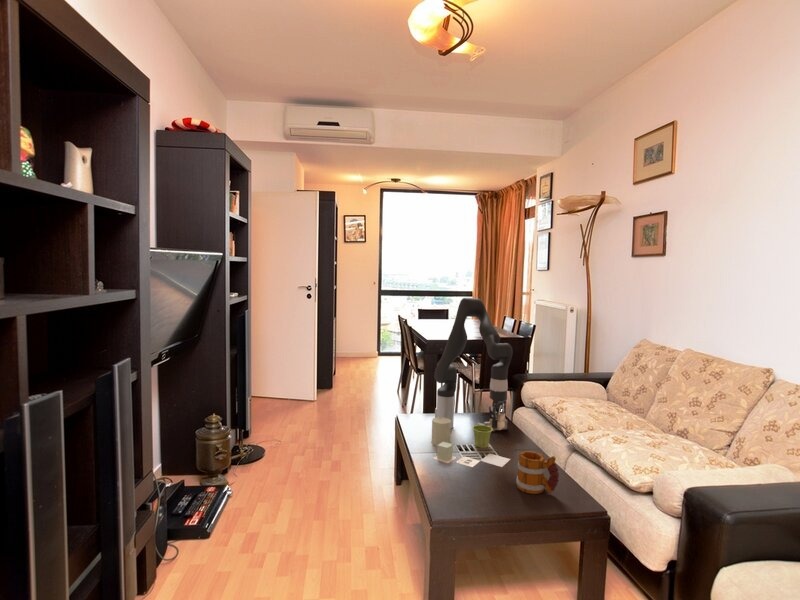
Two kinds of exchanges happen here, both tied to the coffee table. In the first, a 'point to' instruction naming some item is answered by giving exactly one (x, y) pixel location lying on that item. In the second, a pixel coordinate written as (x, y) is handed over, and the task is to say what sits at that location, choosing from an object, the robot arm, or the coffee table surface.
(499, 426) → the beech block
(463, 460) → the code tile
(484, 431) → the plant pot
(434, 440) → the can
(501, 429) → the camera
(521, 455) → the mug
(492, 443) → the coffee table surface
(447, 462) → the code tile
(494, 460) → the felt pad
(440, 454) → the sage block
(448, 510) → the coffee table surface
